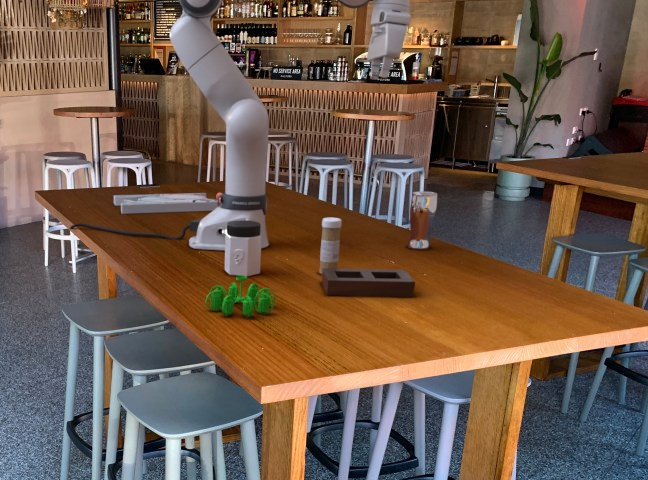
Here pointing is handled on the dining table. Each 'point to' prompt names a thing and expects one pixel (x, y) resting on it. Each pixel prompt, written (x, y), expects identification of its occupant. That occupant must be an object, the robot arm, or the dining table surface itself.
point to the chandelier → (240, 299)
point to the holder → (367, 282)
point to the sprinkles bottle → (330, 243)
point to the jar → (243, 248)
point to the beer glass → (422, 219)
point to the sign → (165, 203)
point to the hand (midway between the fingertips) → (378, 78)
